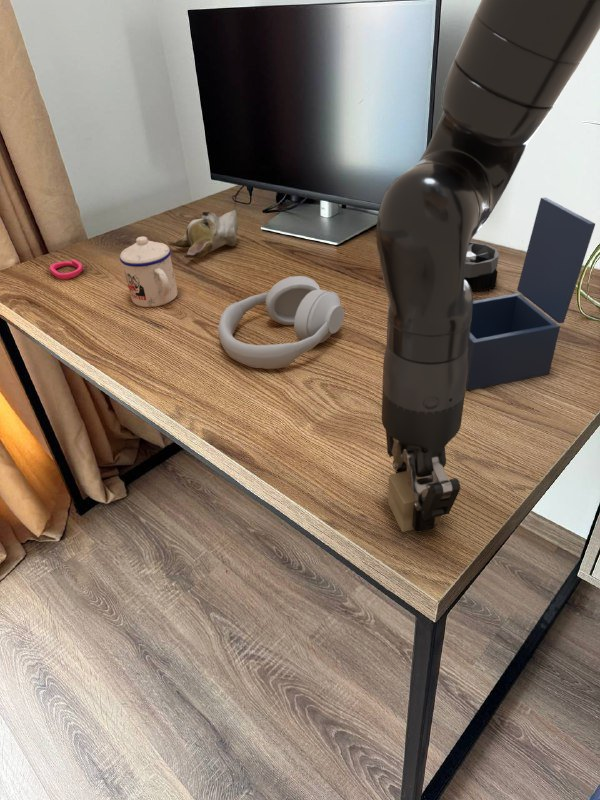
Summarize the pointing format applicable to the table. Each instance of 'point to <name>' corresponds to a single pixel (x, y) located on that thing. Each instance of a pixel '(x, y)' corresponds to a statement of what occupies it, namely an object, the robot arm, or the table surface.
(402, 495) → the block
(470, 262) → the cpu cooler
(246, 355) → the headphones
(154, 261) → the teacup with lid
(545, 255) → the lid
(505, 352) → the chest
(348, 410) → the table surface
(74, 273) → the fitness band
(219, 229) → the ceramic sculpture
